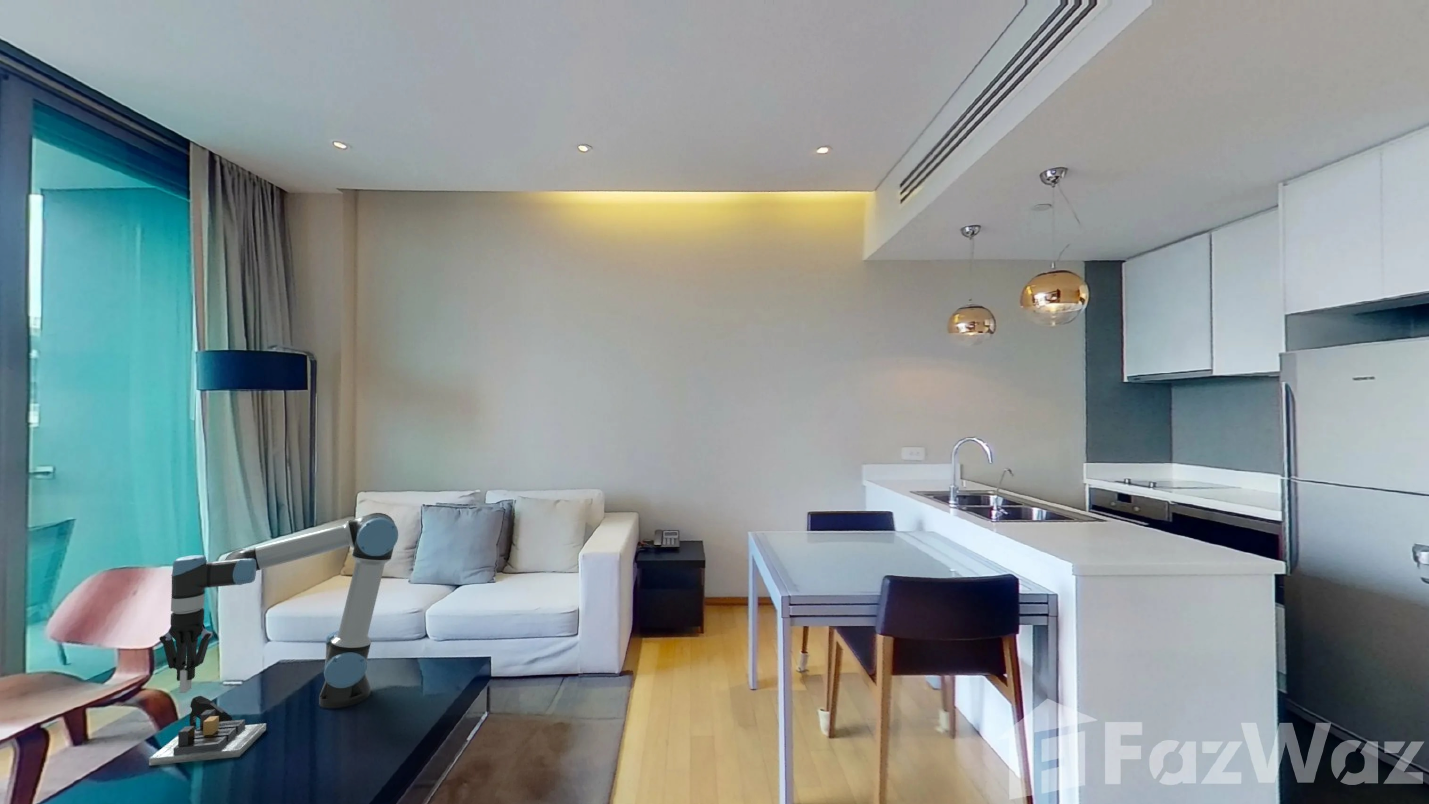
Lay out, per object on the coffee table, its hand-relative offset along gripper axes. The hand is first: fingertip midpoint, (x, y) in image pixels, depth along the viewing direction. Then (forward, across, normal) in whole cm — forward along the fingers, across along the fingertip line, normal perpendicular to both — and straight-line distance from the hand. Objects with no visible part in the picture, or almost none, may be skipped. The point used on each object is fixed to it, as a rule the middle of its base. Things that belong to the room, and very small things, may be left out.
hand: (185, 690), depth 178 cm
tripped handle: (+13, -7, 0) cm, 14 cm away
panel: (+17, -7, 0) cm, 18 cm away
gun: (+17, -1, -12) cm, 21 cm away
